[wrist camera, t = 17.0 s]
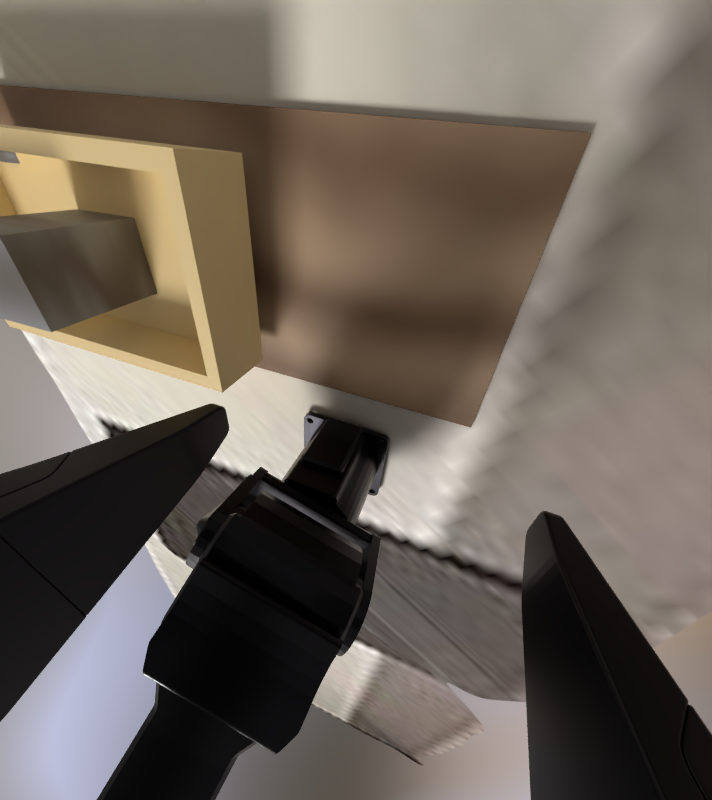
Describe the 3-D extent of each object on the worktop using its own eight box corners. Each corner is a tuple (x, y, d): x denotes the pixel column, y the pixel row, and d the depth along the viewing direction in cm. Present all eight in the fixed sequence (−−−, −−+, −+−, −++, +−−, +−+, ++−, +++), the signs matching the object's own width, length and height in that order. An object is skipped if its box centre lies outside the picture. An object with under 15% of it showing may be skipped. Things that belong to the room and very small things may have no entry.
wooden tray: (272, 352, 22) (222, 392, 18) (85, 301, 25) (9, 326, 21) (256, 153, 15) (172, 148, 11) (8, 124, 19) (-121, 112, 15)
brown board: (471, 424, 20) (471, 427, 20) (83, 315, 27) (79, 316, 27) (589, 133, 12) (591, 132, 11) (-21, 84, 19) (-27, 82, 18)
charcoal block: (157, 293, 19) (51, 332, 15) (106, 282, 20) (-8, 315, 16) (134, 217, 17) (-2, 235, 12) (77, 209, 18) (-68, 222, 13)
